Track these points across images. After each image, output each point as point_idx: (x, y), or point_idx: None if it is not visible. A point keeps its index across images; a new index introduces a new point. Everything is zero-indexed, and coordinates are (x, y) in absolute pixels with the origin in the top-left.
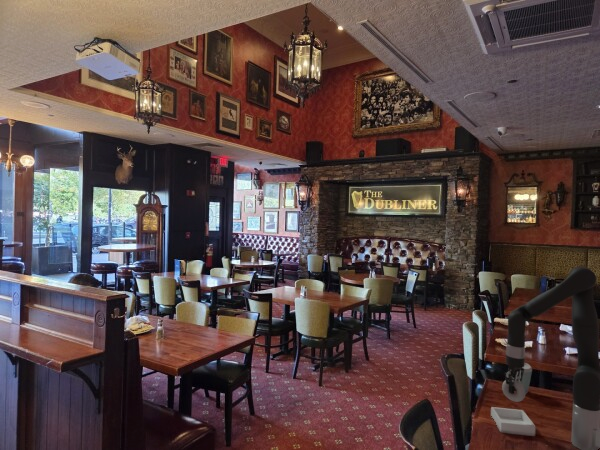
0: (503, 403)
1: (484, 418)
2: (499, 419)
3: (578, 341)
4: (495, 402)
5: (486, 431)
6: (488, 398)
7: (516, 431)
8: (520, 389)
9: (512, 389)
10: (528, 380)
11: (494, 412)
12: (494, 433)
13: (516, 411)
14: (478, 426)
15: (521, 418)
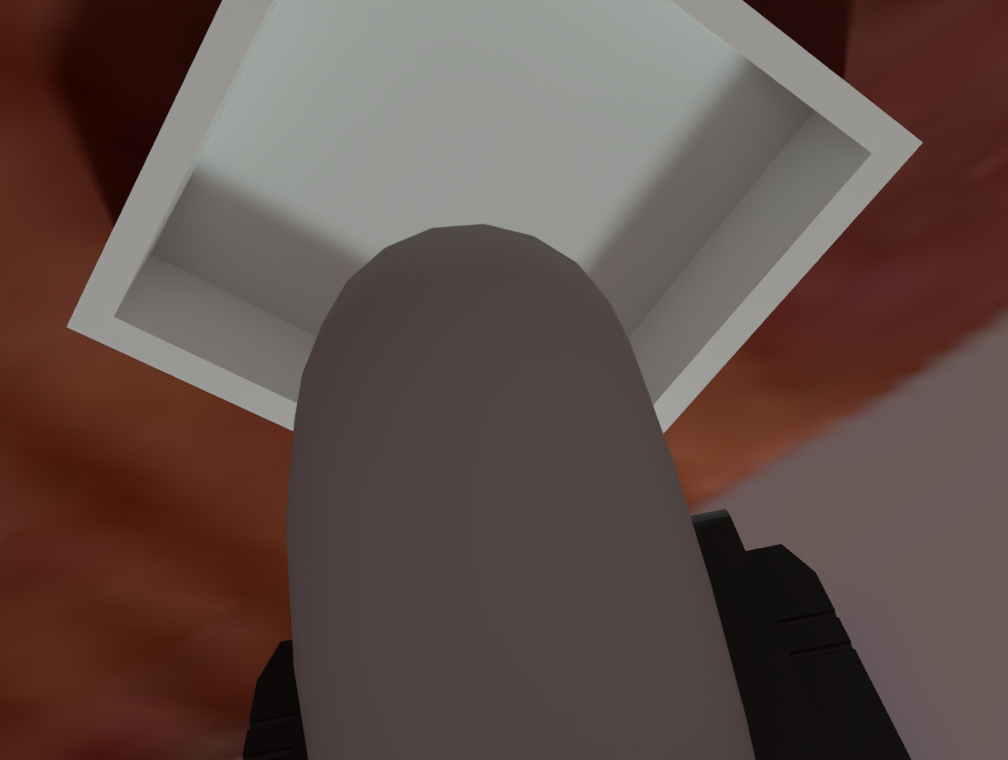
0: (51, 627)
1: (677, 442)
2: (838, 231)
3: None
4: (151, 667)
5: (1003, 192)
6: (166, 744)
7: None
8: (665, 519)
9: (792, 658)
10: None
11: (666, 426)
12: (958, 106)
13: (209, 346)
14: (961, 326)
15: (159, 242)
